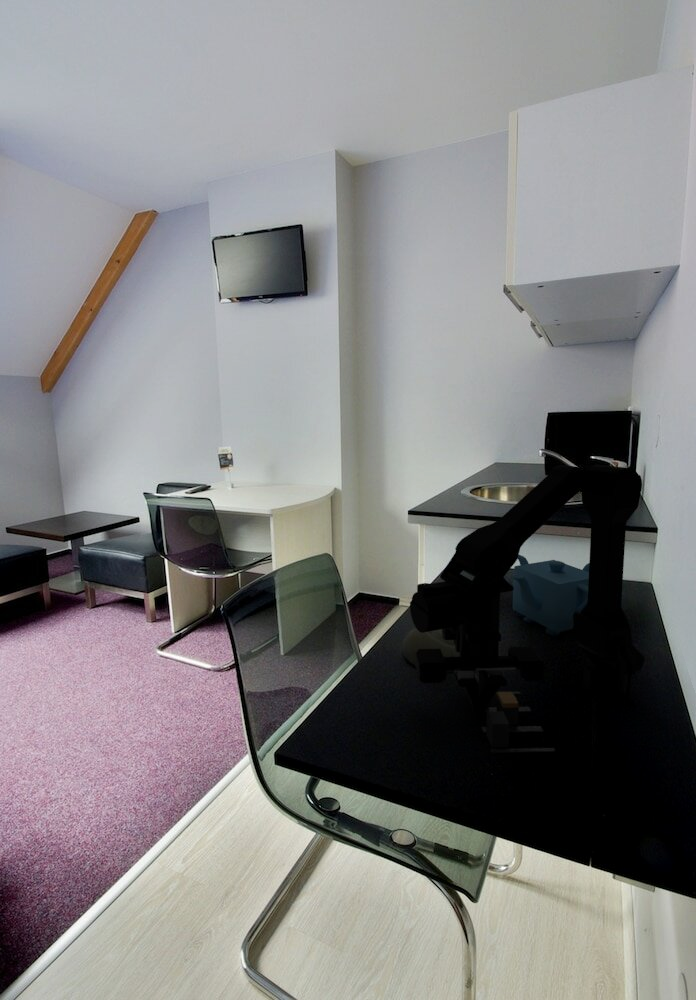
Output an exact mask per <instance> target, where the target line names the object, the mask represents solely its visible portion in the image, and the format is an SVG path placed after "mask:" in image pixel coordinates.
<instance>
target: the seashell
mask: <svg viewBox="0 0 696 1000" xmlns="http://www.w3.org/2000/svg"><path fill="white" fill-rule="evenodd" d="M419 649H441V652H442V654H443V657H460V652H457V651H456V649H455V644H454V640H445V639H443V636H442V629H441V630H435V631H430V632H424V633H421V632H419V631H418V630H417V628H416V627H414V628H413V629H411V630H410V631H409V632H408V633H407V634H406V636H405V638H404V640H403V642H402V653H403V656H404V658H405V659H406V660H407V661H408V662H409V663H410V664H412V665H413V666H415V667H416V665H415V654H416V652H417V651H418V650H419ZM449 673H453V672H452V671H447V674H449Z"/></svg>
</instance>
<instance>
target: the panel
mask: <svg viewBox="0 0 696 1000" xmlns="http://www.w3.org/2000/svg"><path fill="white" fill-rule="evenodd" d="M497 692H498V691H497ZM497 692H496V693H495V695H496V696H497ZM512 692H513V694H514V695H522V692H521V691H512ZM466 694H467V696H469V695H468V692H467V691H466ZM495 695H494V696H495ZM494 711H497V706H495V707H494V706H486V708H485V710H484V711H483V713H482V714H485V713H486V714H487V712H494ZM531 712H532V709H531V708H530V706H519V710H518V713H531ZM480 728H481V731H482V733H485V734H486V726H481V727H480ZM543 732H544V729H543V728H542V726H541V725H522V726H521V725H520V726H519V725H509V733H543ZM490 752H491V753H492V754H493V753H496V754H497V753H499V754H500V753H550V752H551V753H553V752H554V753H555V752H556V749H555V748H554V747H531V748H529V747H526V748H523V747H522V748H521V747H520V748H490Z"/></svg>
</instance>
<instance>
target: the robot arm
mask: <svg viewBox="0 0 696 1000" xmlns="http://www.w3.org/2000/svg"><path fill="white" fill-rule="evenodd" d="M642 479H643V478H642V476H641V474H638V472H637V471H636V470H635V469H633V468H630V467H623V466H614V465H606V464H597V463H596V464H593V465H591V466H590V467H588V468H587V469H585V468H583V467H580V466H573V465H566V464H559V465H555V466H554V467H551V469H550V470H549V471H548V474H547V476H544V478H543V479H542V480H541V481H540V482H539V483H537V484H536V486H535V487H534V488H531V490H530V491H529V492H528V493H526V494H525V496H523V497H522V498H521V499H520V500H519V501H518V502H517V503H516V504H515V505H513V506H512V507H511V508H510V509H509V510H508V511H507V512H506V513H504V514H503V515H502V516H501V517H500V518H499V519H498V520H496V521H494V522H492V523H490V524H488V525H483V526H481V527H479V528H477V529H475V530H474V531H472V532H470V533H469V534H468V535H466V536H464V537H463V538H462V539H460V540H459V542H458V543H457V545H456V546H455V552H454V554H453V556H452V557H451V559H450V560H449V562H448V563H447V564H446V567H445V568H444V570H443V571H442V573H441V574H440V576H439V578H440V579H441V580H442V581H441V582H433V583H427V582H423V583H418V584H417V585H416V592H414V593H413V594H412V597H411V600H410V602H409V612H410V616H411V619H412V620H411V621H412V622H413V625H414V628H417V630H418V631H419V632H421V633H424V632H430V631H435V630H441V629H442V636H443V639H445V640H454V644H455V649H456V651H457V652H460V657H443V654H442V652H441V649H419V650H418V651H417V652H416V654H415V665H416V666H415V665H414V666H415V669H416V673H417V676H418V681H419V682H420V683H423V684H441V683H443V682H444V681H445V680H446V679H447V676H448V673H447V671H452V672H451V673H452V674H453V677H454V679H455V682H456V684H457V686H458V687H461V688H465V690H466V693H467V692H468V695H467V696H468V698H469V701H470V704H471V708H472V711H473V713H474V714H473V715H474V716H475V717H481V716H482V715H483V714H484V713H483V711H484V710H485V708H486V707H488V706H487V705H488V703H489V704H490V701H491V700H492V698H493V697H494V696H495V693H496V692H499V690H500V688H501V687H506V686H508V681H507V679H506V677H505V673H506V671H507V670H509V671H510V670H515V671H516V670H519V675H520V677H521V678H522V679H523V680H524V681H525V682H544V681H545V680H546V678H547V666H546V663H545V661H544V660H543V659H542V658H541V656H540V655H539V654H538V652H537V651H536V649H534V648H533V647H532V646H510V647H509V648H508V650H507V655H499V644H500V642H501V641H502V634H501V632H500V620H501V619H500V617H501V613H500V612H501V611H500V610H501V594H502V593H503V594H504V593H507V592H508V593H509V592H513V590H514V587H513V586H514V585H511V583H509V582H508V581H507V579H506V578H505V576H506V575H507V574H508V573H509V571H510V570H511V569H512V567H513V566H514V565H515V563H517V560H518V559H517V558H518V555H520V551H521V548H522V546H524V544H525V543H526V541H528V539H530V537H532V536H534V534H535V533H536V532H537V531H538V530H539V529H540V528H542V527H543V526H544V524H546V523H547V522H548V521H549V520H550V519H552V517H553V516H554V515H556V514H557V512H559V510H561V509H562V508H563V507H564V506H566V504H568V503H569V502H570V501H571V499H572V498H574V497H575V496H576V495H577V494H580V495H581V502H582V505H583V507H584V509H585V511H586V513H587V515H588V517H589V519H590V522H591V523H590V526H591V527H590V539H589V542H590V544H589V562H588V563H589V584H588V602H587V604H586V606H585V607H584V608H583V609H582V610H581V612H575V613H574V614H573V629H571V633H570V634H571V635H573V636H574V640H575V643H577V644H578V647H579V651H580V653H582V654H585V655H586V656H587V658H586V665H584V666H583V676H582V685H583V686H584V687H585V689H586V690H587V691H588V692H589V693H594V694H600V695H603V696H607V697H610V698H611V697H612V698H616V699H618V700H619V702H621V703H622V704H623V705H634V704H636V703H637V701H636V699H635V698H634V697H633V695H631V691H632V690H631V689H632V681H633V680H632V679H633V676H634V675H636V674H637V672H638V671H639V672H640V671H641V670H642V668H643V666H644V663H645V660H646V658H645V657H644V656H643V654H642V653H641V652H640V651H639V650H638V649H637V648H636V647H635V646H634V645H633V638H632V627H631V624H630V622H629V620H628V617H627V616H626V614H625V612H624V610H623V608H622V599H623V582H624V580H623V579H624V566H625V565H624V564H625V549H626V548H625V546H626V545H625V544H626V529H627V522H628V521H629V519H630V518H631V516H632V515H633V514H634V513H635V511H636V510H637V509H638V507H639V504H640V500H641V499H640V498H641V494H642V490H643V489H642V488H643V480H642ZM463 572H465V573H467V574H469V575H470V576H472V577H474V578H473V579H470V578H469V577H466V576H464V575H463V574H461V573H463ZM475 671H478V676H479V683H477V680H476V678H475V676H476V675H475Z"/></svg>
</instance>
